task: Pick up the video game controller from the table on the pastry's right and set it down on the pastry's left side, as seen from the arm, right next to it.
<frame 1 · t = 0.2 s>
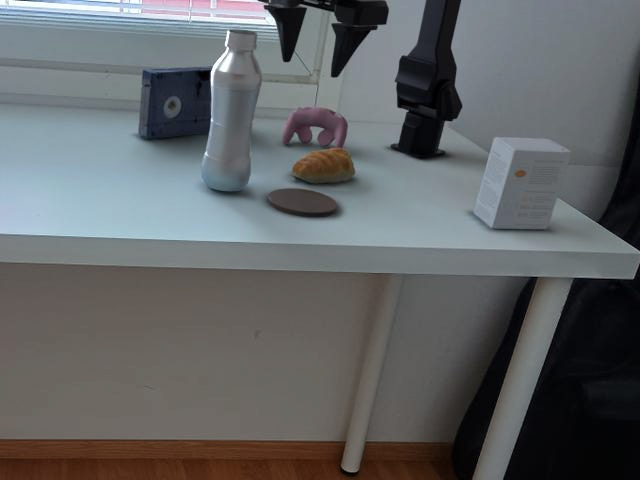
hand: (309, 69, 116), 14 cm above the table, tool pointing down, fingers open, 9 cm apart
small box: (508, 223, 112), on the table
video game controller: (312, 147, 136), on the table
walnut coaster: (302, 204, 112), on the table
plastic bottle: (223, 189, 115), on the table
vhs cassette tape: (189, 133, 137), on the table
pastry: (322, 178, 122), on the table
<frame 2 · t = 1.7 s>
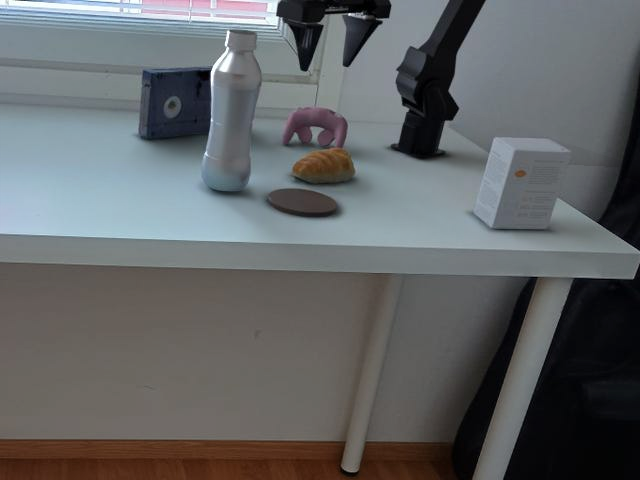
hand: (325, 68, 128), 12 cm above the table, tool pointing down, fingers open, 9 cm apart
nothing on the table moved.
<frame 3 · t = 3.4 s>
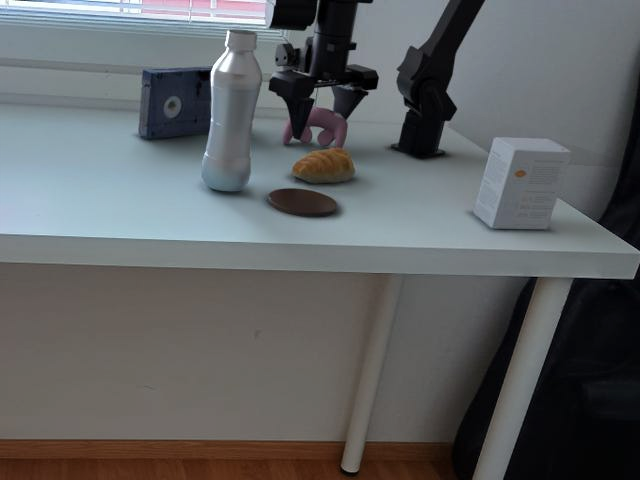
hand: (315, 136, 135), 2 cm above the table, tool pointing down, fingers closed on video game controller, 8 cm apart
video game controller: (312, 147, 136), on the table, touching gripper
everything else where it was.
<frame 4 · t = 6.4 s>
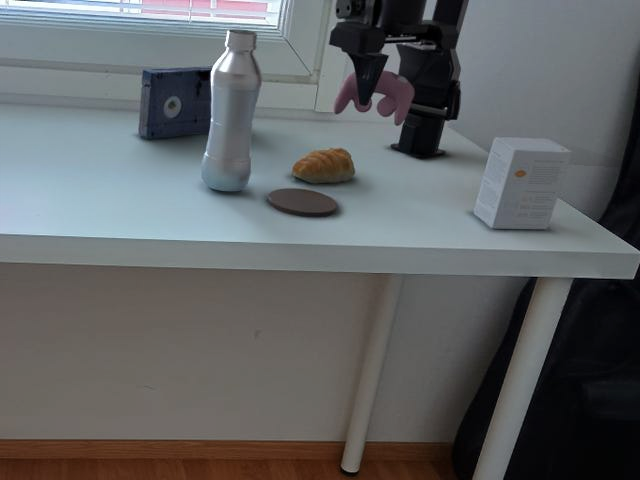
hand: (381, 103, 114), 12 cm above the table, tool pointing down, fingers closed on video game controller, 7 cm apart
video game controller: (370, 117, 115), point 10 cm above the table, touching gripper
everything else where it was.
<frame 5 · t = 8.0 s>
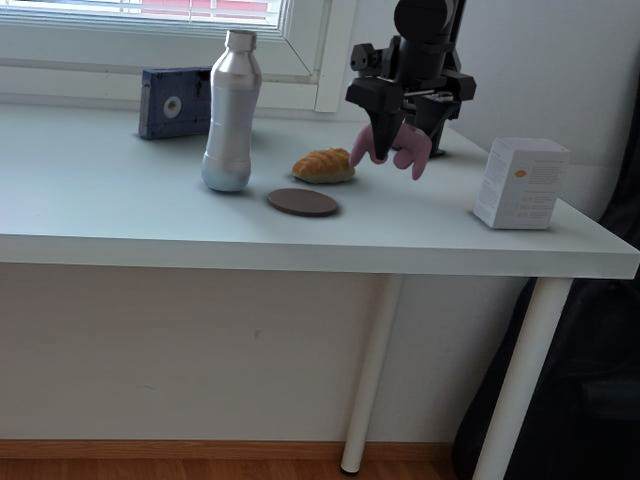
hand: (397, 156, 111), 7 cm above the table, tool pointing down, fingers closed on video game controller, 7 cm apart
video game controller: (387, 169, 112), point 5 cm above the table, touching gripper
everything else where it was.
when the fingers open (2 cm above the table, at t = 9.5 s): video game controller stays where it is, on the table.
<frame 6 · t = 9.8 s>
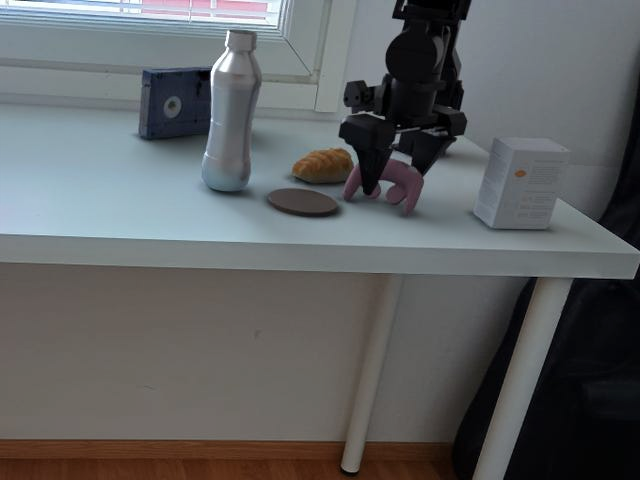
hand: (390, 189, 113), 2 cm above the table, tool pointing down, fingers open, 9 cm apart
video game controller: (379, 204, 115), on the table
everything else where it was.
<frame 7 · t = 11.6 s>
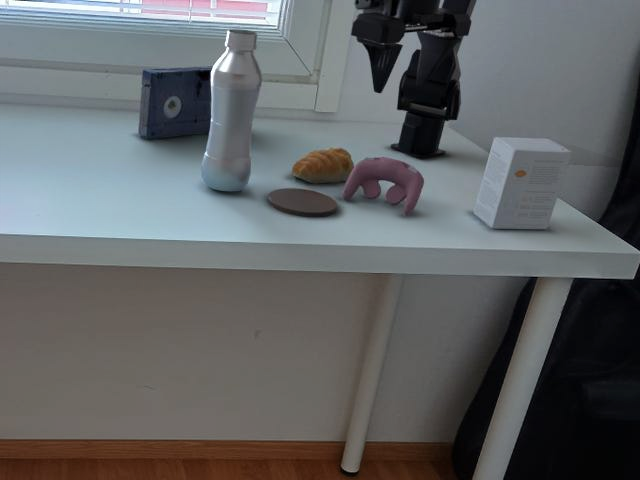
hand: (399, 89, 120), 12 cm above the table, tool pointing down, fingers open, 9 cm apart
nothing on the table moved.
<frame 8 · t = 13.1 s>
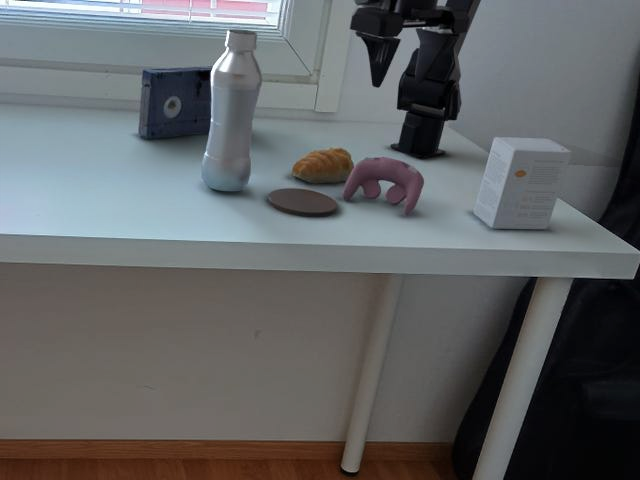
hand: (397, 84, 121), 13 cm above the table, tool pointing down, fingers open, 9 cm apart
nothing on the table moved.
at the end: video game controller inside the target area on the table beside the pastry (1.4 cm from its centre), on the table; video game controller tilted 0°; the gripper is holding nothing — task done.
